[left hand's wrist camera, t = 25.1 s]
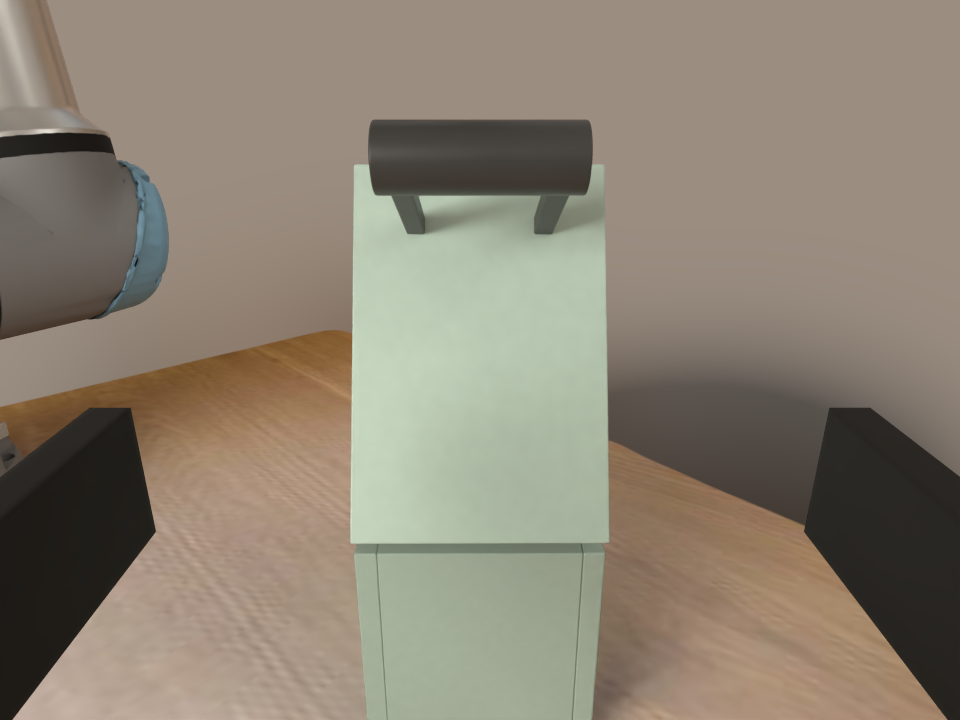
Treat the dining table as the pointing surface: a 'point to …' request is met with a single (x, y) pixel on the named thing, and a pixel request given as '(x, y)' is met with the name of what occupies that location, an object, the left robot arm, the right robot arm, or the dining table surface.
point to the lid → (479, 335)
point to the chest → (479, 630)
